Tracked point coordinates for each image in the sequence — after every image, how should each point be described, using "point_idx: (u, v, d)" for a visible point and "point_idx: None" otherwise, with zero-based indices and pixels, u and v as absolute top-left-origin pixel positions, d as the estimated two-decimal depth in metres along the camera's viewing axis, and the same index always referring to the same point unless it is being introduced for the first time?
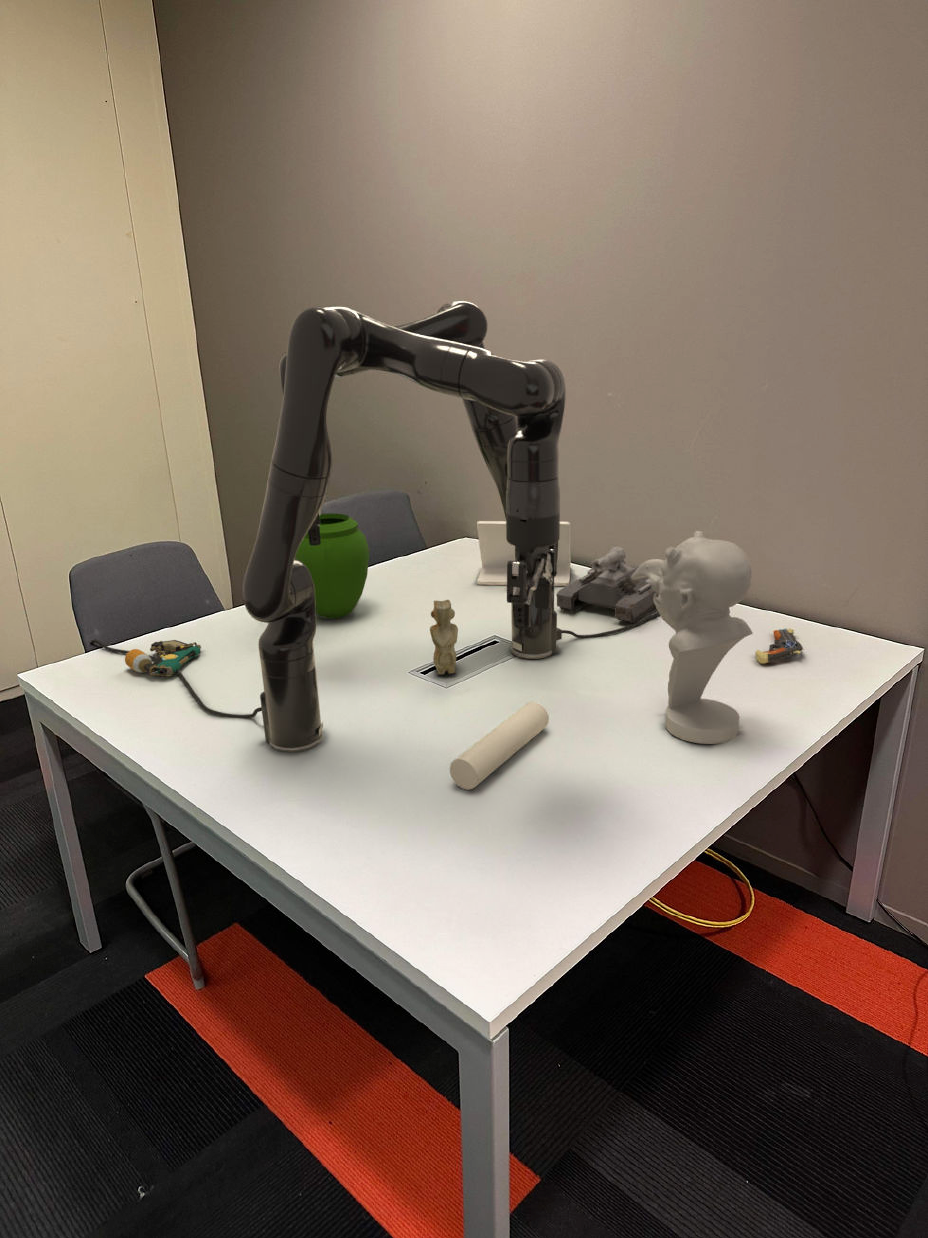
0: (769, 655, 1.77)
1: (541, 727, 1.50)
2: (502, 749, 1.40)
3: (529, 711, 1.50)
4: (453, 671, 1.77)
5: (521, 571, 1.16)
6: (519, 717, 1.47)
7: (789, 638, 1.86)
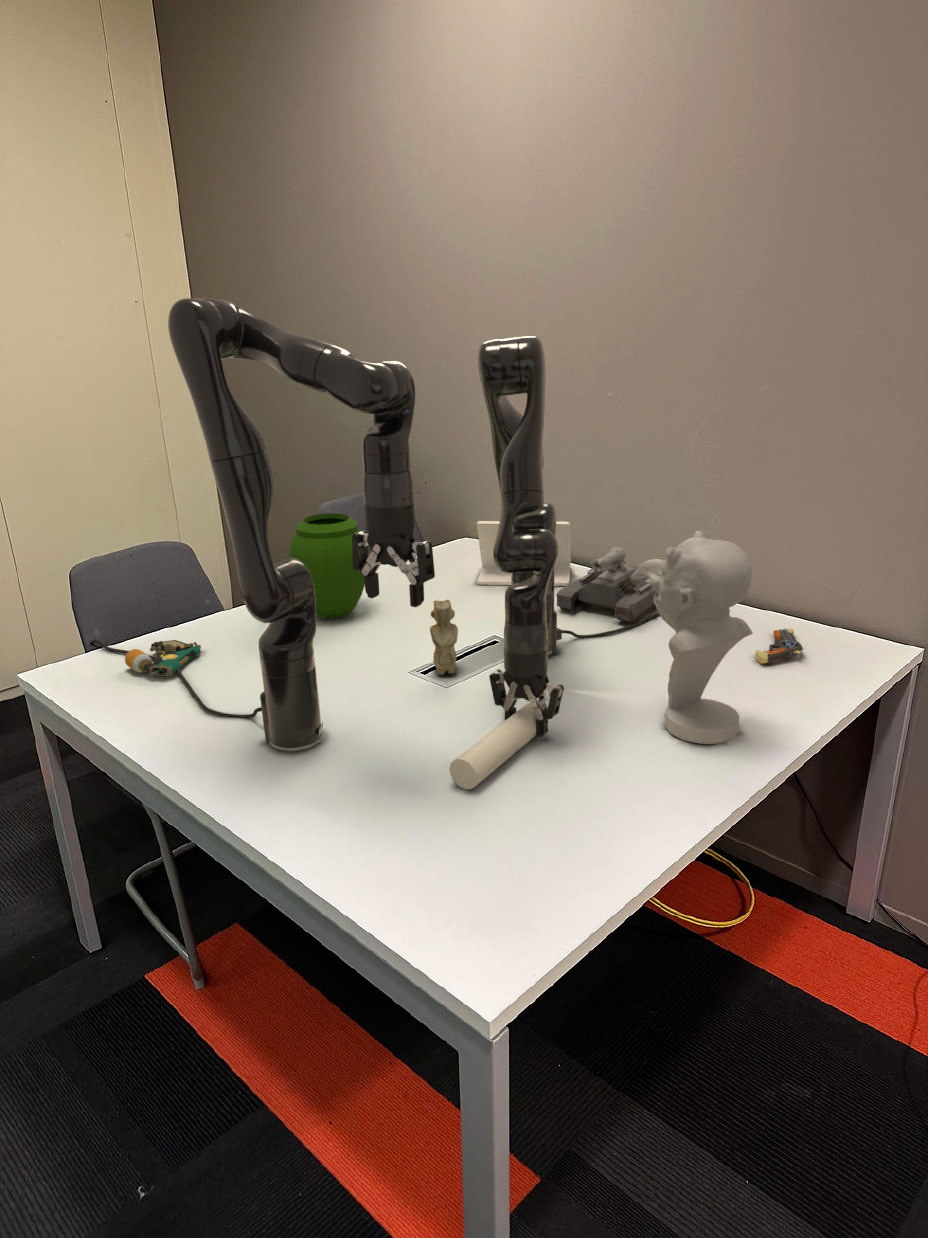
0: (769, 655, 1.77)
1: None
2: (502, 749, 1.40)
3: (529, 711, 1.50)
4: (453, 671, 1.77)
5: (430, 548, 1.28)
6: (519, 717, 1.48)
7: (789, 638, 1.86)
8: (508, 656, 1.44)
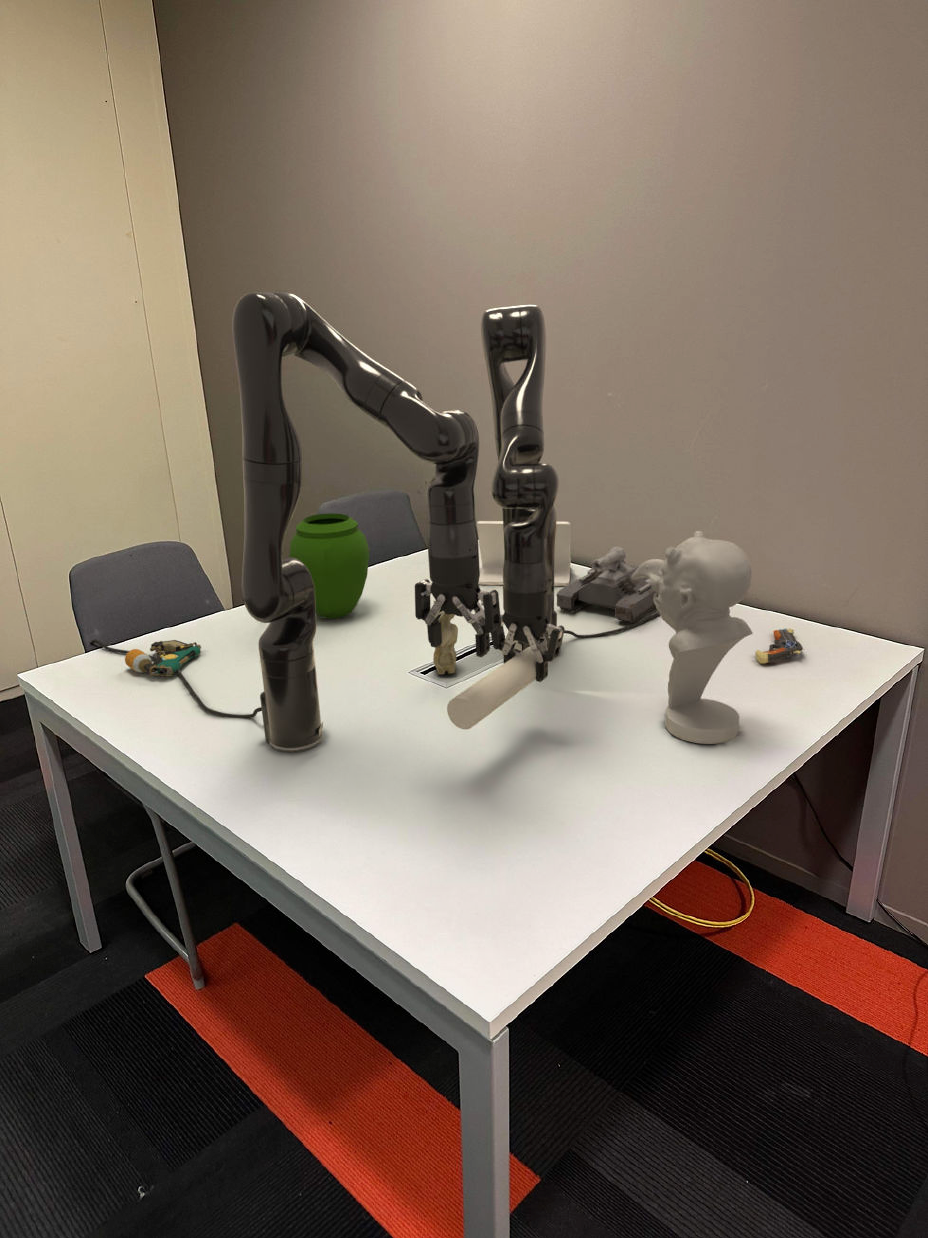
0: (769, 655, 1.77)
1: None
2: (500, 690, 1.36)
3: (529, 654, 1.46)
4: (453, 671, 1.77)
5: (497, 597, 1.26)
6: (519, 659, 1.44)
7: (789, 638, 1.86)
8: (507, 596, 1.40)
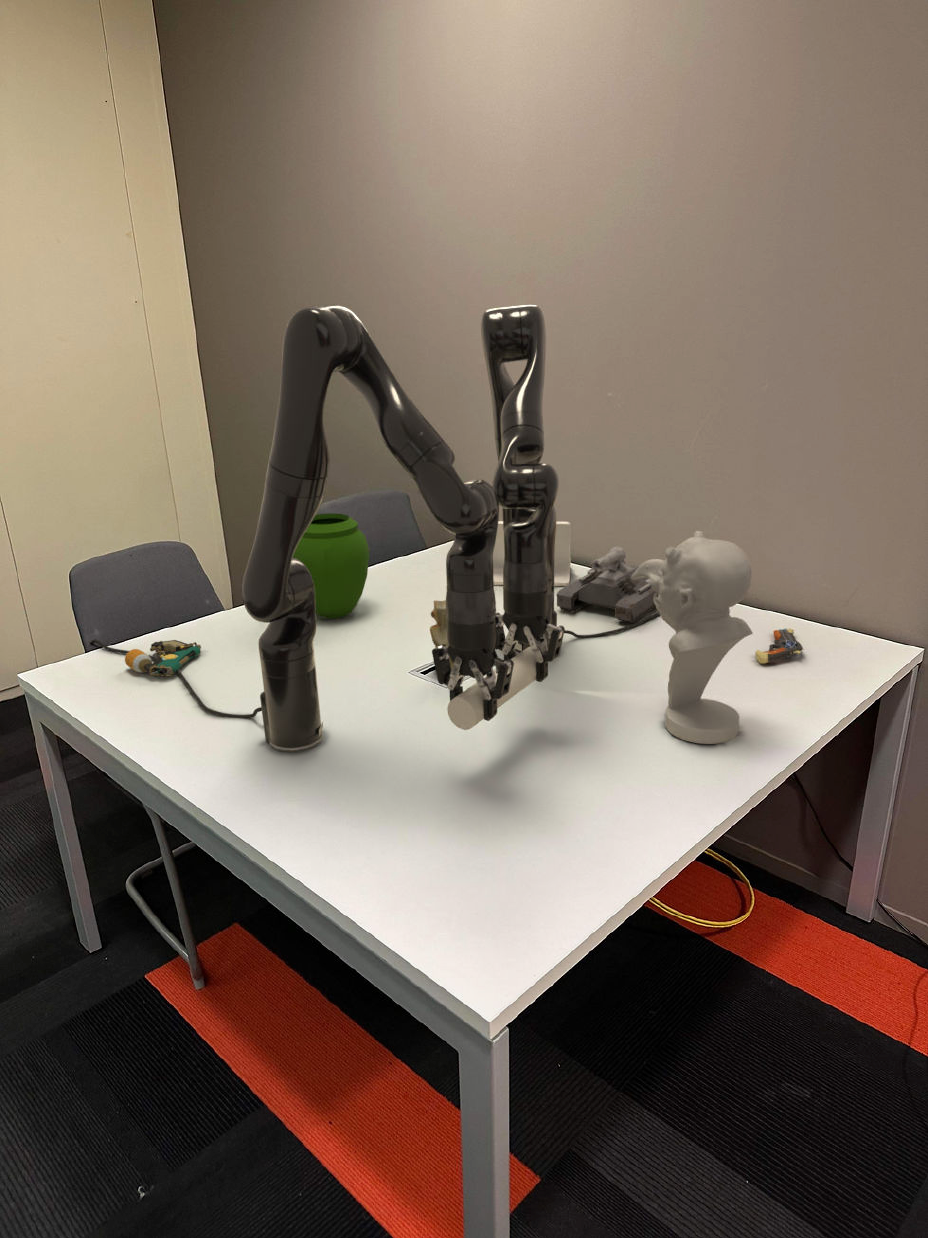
0: (769, 655, 1.77)
1: None
2: None
3: (529, 654, 1.46)
4: None
5: (512, 668, 1.29)
6: (519, 660, 1.44)
7: (789, 638, 1.86)
8: (507, 596, 1.40)
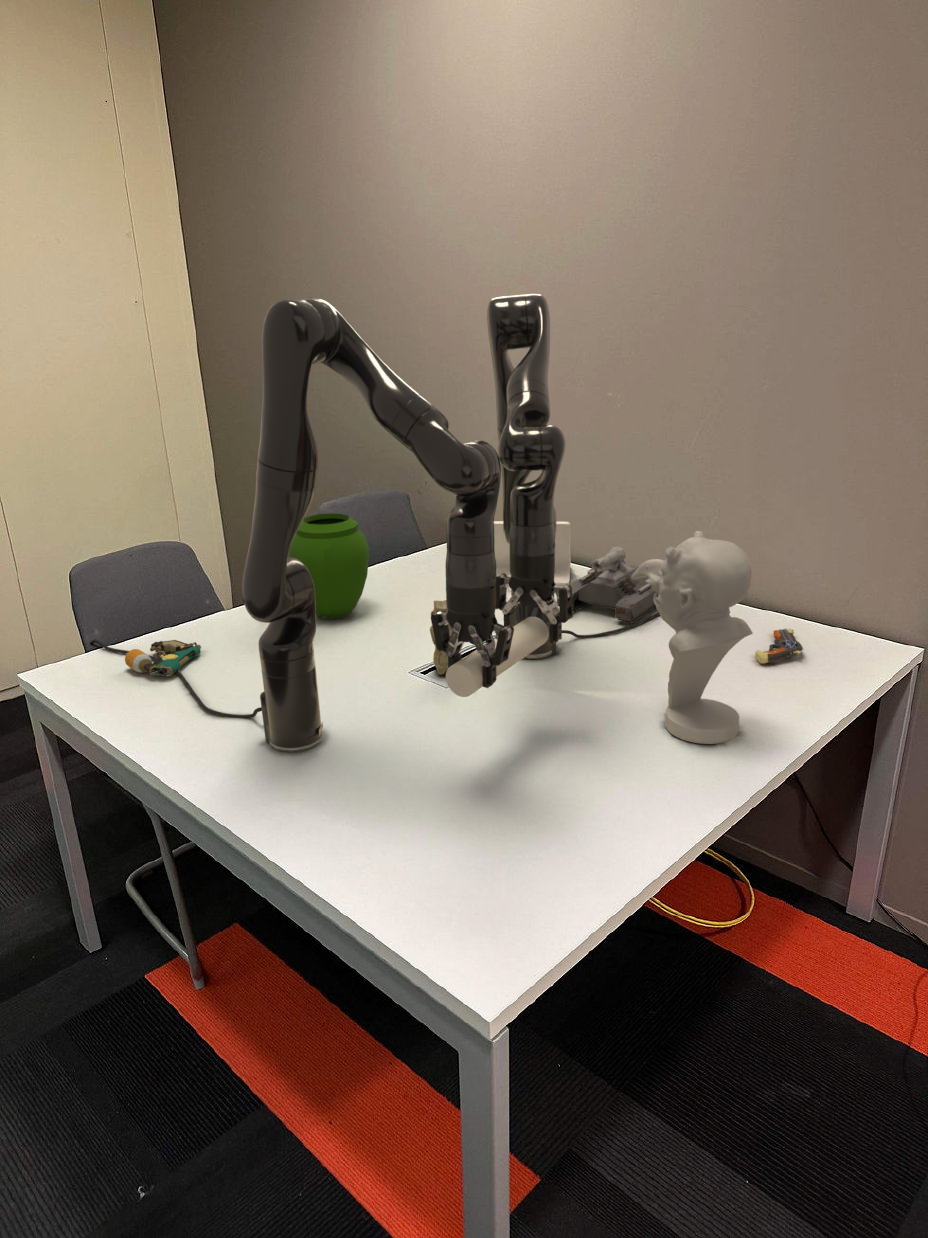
0: (769, 655, 1.77)
1: (541, 641, 1.45)
2: None
3: (528, 624, 1.44)
4: None
5: (512, 634, 1.27)
6: (518, 629, 1.42)
7: (789, 638, 1.86)
8: (514, 559, 1.40)
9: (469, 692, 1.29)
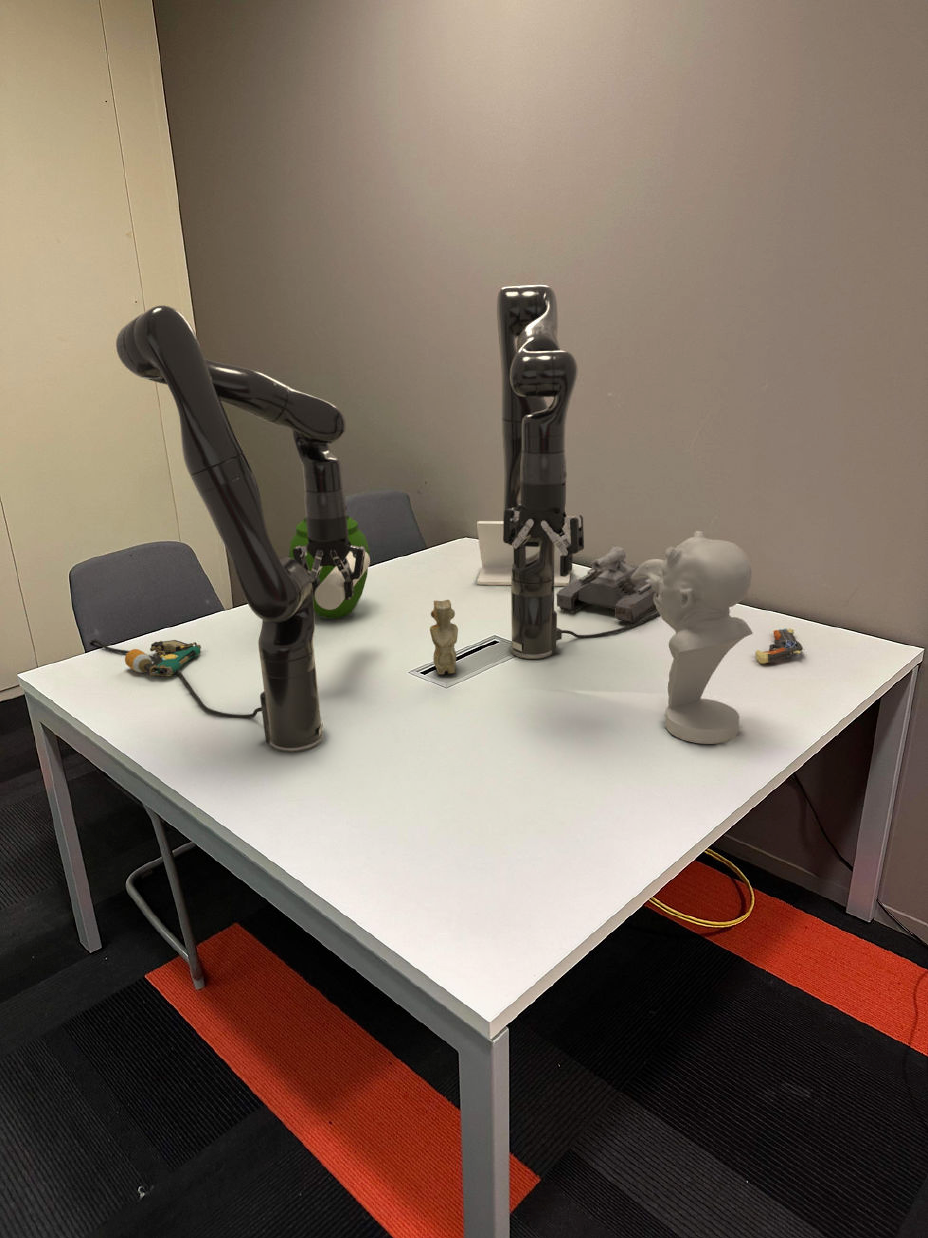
0: (769, 655, 1.77)
1: (367, 566, 1.80)
2: None
3: None
4: (453, 671, 1.77)
5: (364, 552, 1.61)
6: (351, 556, 1.76)
7: (789, 638, 1.86)
8: (525, 488, 1.39)
9: (337, 604, 1.61)
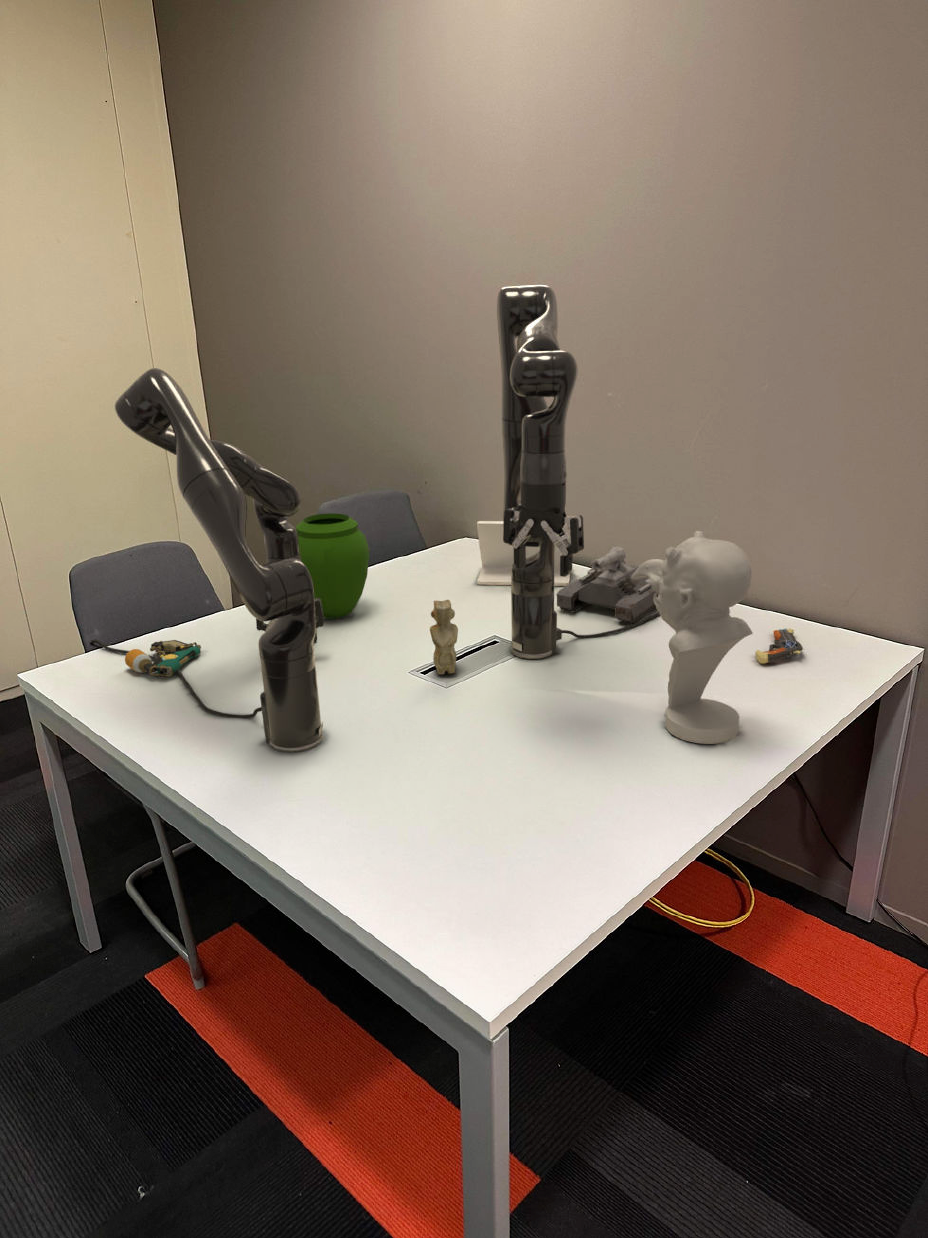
0: (769, 655, 1.77)
1: None
2: None
3: None
4: (453, 671, 1.77)
5: (321, 602, 1.84)
6: None
7: (789, 638, 1.86)
8: (525, 488, 1.39)
9: None
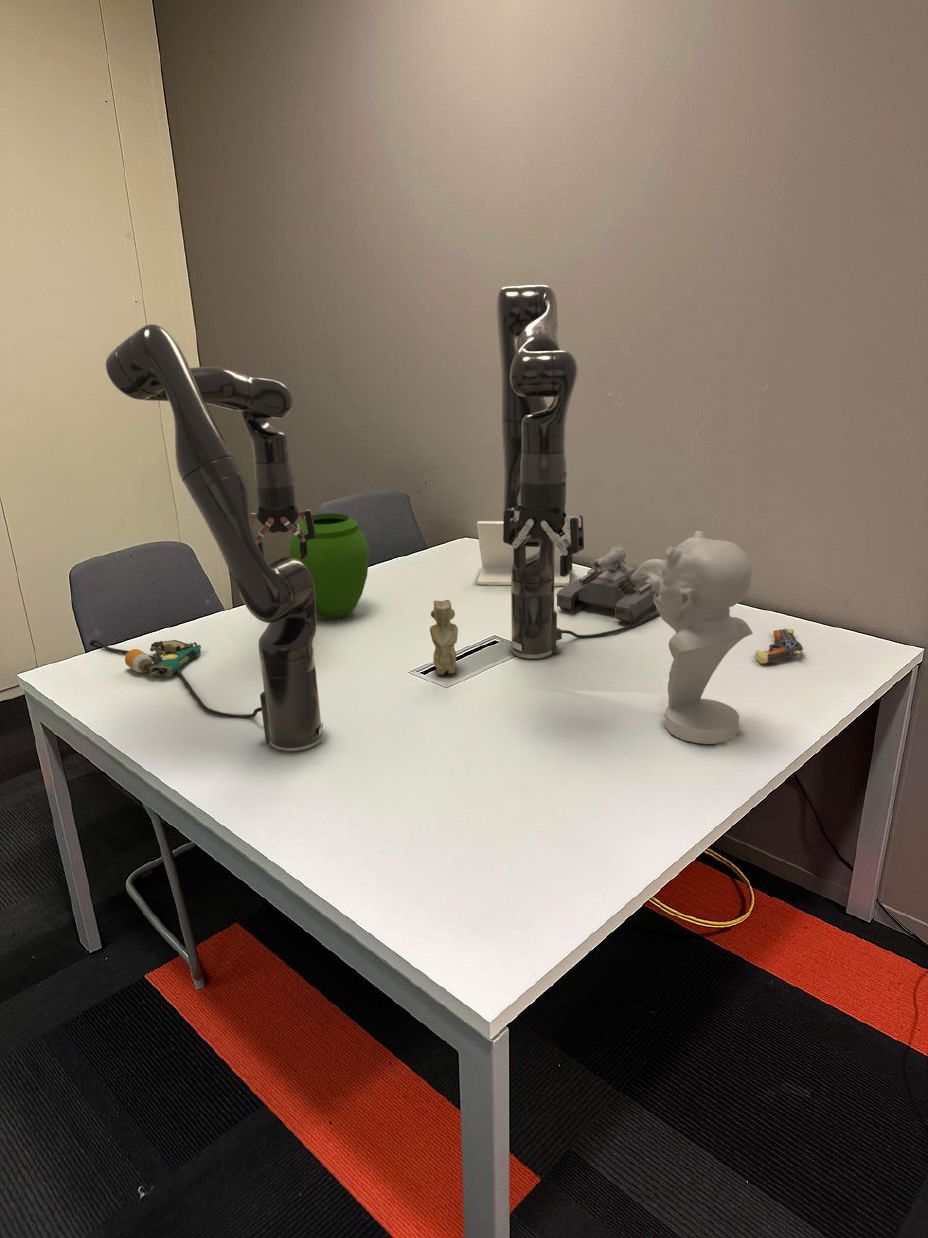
0: (769, 655, 1.77)
1: None
2: None
3: None
4: (453, 671, 1.77)
5: None
6: None
7: (789, 638, 1.86)
8: (525, 488, 1.39)
9: None
